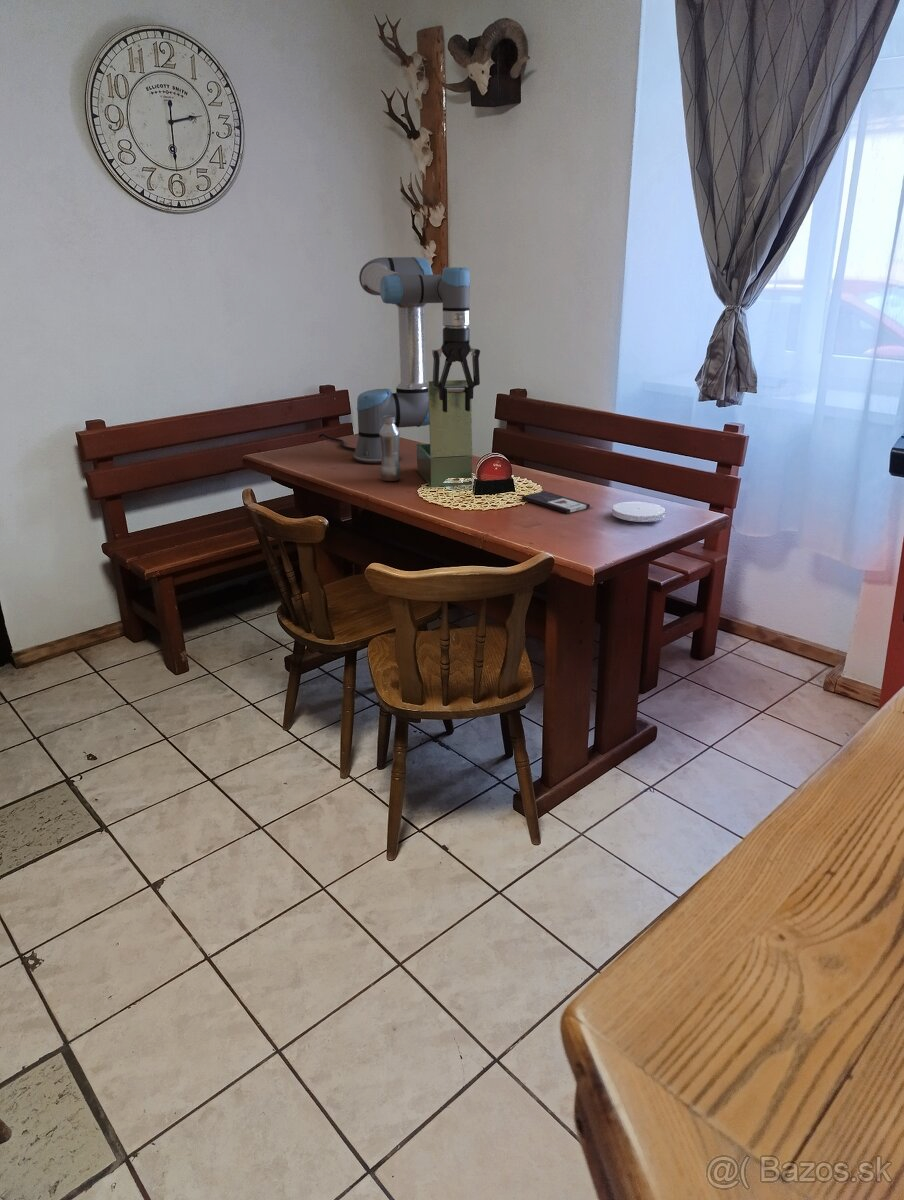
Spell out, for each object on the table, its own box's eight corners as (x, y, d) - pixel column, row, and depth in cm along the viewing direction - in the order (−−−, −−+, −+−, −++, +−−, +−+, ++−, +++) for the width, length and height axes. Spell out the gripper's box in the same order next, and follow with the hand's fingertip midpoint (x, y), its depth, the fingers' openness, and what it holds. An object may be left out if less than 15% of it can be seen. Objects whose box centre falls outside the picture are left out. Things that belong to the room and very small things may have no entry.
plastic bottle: (376, 482, 254) (374, 417, 246) (386, 477, 259) (384, 413, 252) (395, 484, 251) (393, 419, 244) (404, 478, 257) (403, 415, 249)
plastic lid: (601, 513, 222) (602, 504, 221) (645, 508, 227) (646, 499, 226) (629, 528, 210) (630, 518, 209) (675, 522, 215) (676, 513, 214)
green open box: (417, 470, 267) (416, 444, 264) (455, 468, 270) (455, 442, 267) (431, 487, 248) (430, 458, 245) (471, 484, 251) (472, 456, 247)
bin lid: (427, 381, 238) (433, 382, 231) (470, 379, 241) (477, 380, 234) (430, 457, 245) (435, 460, 238) (471, 455, 248) (478, 458, 241)
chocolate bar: (544, 490, 240) (589, 504, 227) (544, 494, 240) (589, 507, 227) (522, 496, 235) (566, 510, 222) (522, 499, 235) (566, 513, 222)
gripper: (425, 328, 221) (426, 414, 230) (492, 327, 225) (491, 411, 234) (419, 326, 227) (421, 410, 236) (485, 325, 232) (484, 407, 240)
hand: (456, 410), depth 235 cm, fingers closed on bin lid, 6 cm apart
